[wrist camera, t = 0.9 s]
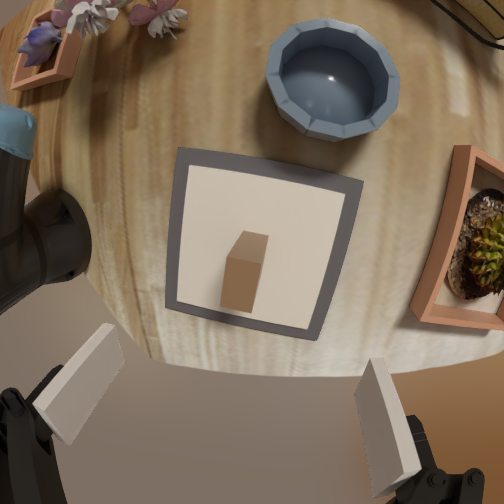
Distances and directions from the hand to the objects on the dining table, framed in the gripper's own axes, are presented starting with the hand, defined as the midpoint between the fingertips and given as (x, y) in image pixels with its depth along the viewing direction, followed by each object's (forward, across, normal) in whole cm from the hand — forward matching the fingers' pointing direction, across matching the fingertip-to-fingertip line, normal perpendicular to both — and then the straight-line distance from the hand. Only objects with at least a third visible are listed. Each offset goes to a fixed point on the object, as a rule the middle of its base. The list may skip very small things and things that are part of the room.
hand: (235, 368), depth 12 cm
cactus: (+21, +33, +3) cm, 39 cm away
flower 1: (+23, -37, +32) cm, 55 cm away
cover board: (+21, -1, -1) cm, 21 cm away
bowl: (+22, +6, +19) cm, 29 cm away
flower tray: (+23, -38, +32) cm, 55 cm away
